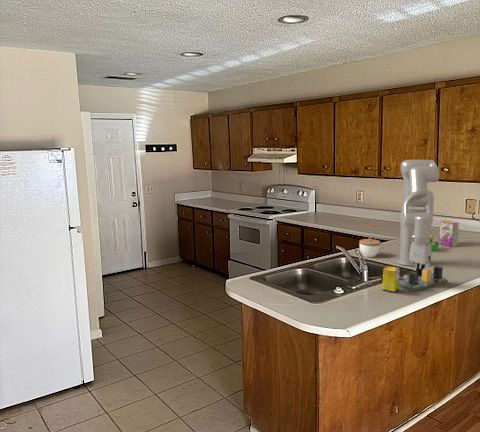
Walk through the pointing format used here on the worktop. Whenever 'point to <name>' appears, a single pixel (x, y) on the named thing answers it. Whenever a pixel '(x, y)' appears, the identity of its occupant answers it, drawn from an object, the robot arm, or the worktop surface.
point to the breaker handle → (426, 275)
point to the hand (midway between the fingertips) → (419, 275)
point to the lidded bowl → (369, 247)
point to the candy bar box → (448, 233)
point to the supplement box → (390, 279)
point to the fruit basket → (433, 244)
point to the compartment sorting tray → (415, 282)
